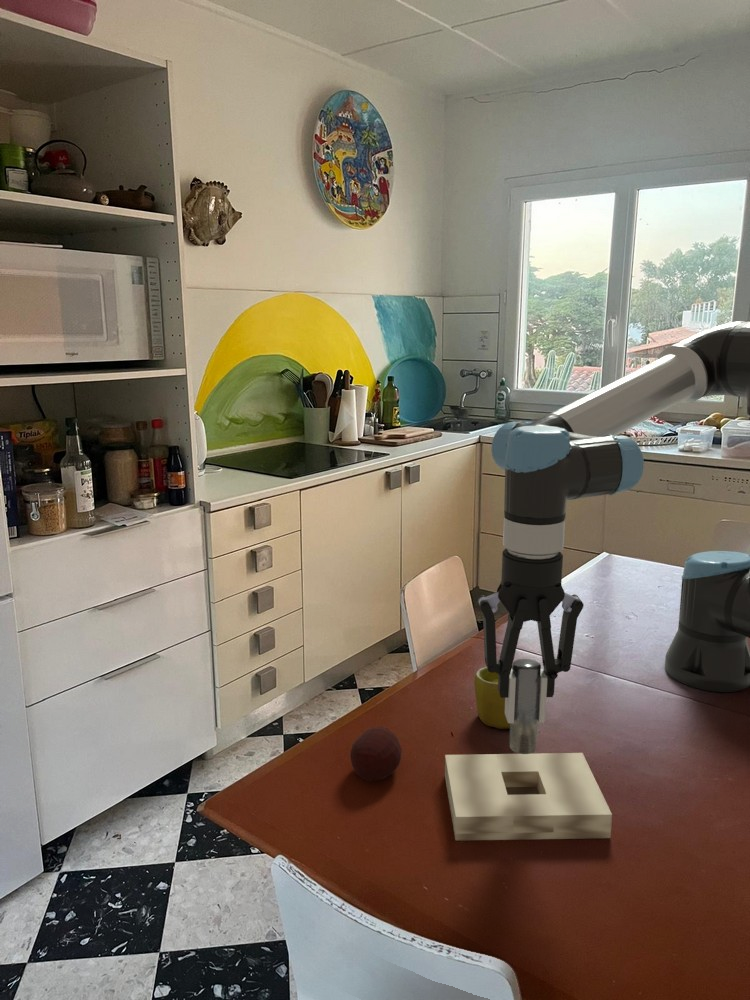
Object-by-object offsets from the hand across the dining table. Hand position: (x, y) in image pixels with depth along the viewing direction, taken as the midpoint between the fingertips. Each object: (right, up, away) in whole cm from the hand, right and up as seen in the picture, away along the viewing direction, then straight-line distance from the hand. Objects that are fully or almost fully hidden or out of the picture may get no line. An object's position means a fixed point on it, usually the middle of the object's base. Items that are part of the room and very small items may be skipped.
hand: (524, 717), depth 102 cm
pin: (0, -4, +1) cm, 4 cm away
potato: (-20, -11, +12) cm, 26 cm away
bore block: (0, -13, +3) cm, 13 cm away
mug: (+2, -7, +28) cm, 28 cm away
